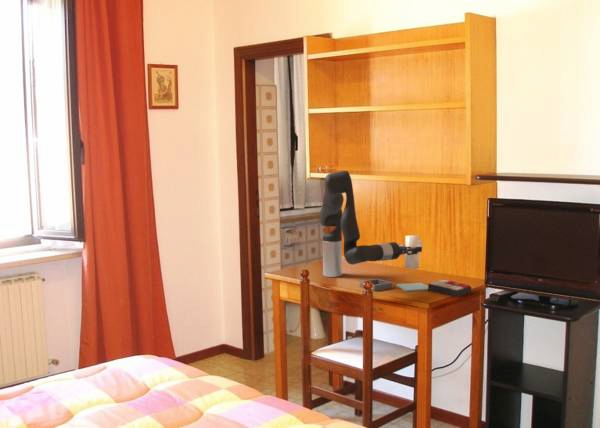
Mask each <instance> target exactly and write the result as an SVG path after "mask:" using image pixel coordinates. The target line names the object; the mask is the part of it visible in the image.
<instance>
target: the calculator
mask: <svg viewBox="0 0 600 428" xmlns="http://www.w3.org/2000/svg"><path fill="white" fill-rule="evenodd" d="M427 286H428V290H427V291H428V292H431V293H436V294H437V293H438V294H441V295H446V296H451V297H457V298H458V297H462V296H465V295H468V294H471V293H472V286H471V285H469V284H465V283H461V282H456V281H452V280H447V279H440V280H436V281H433V282H430V283H428V285H427Z"/></svg>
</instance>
